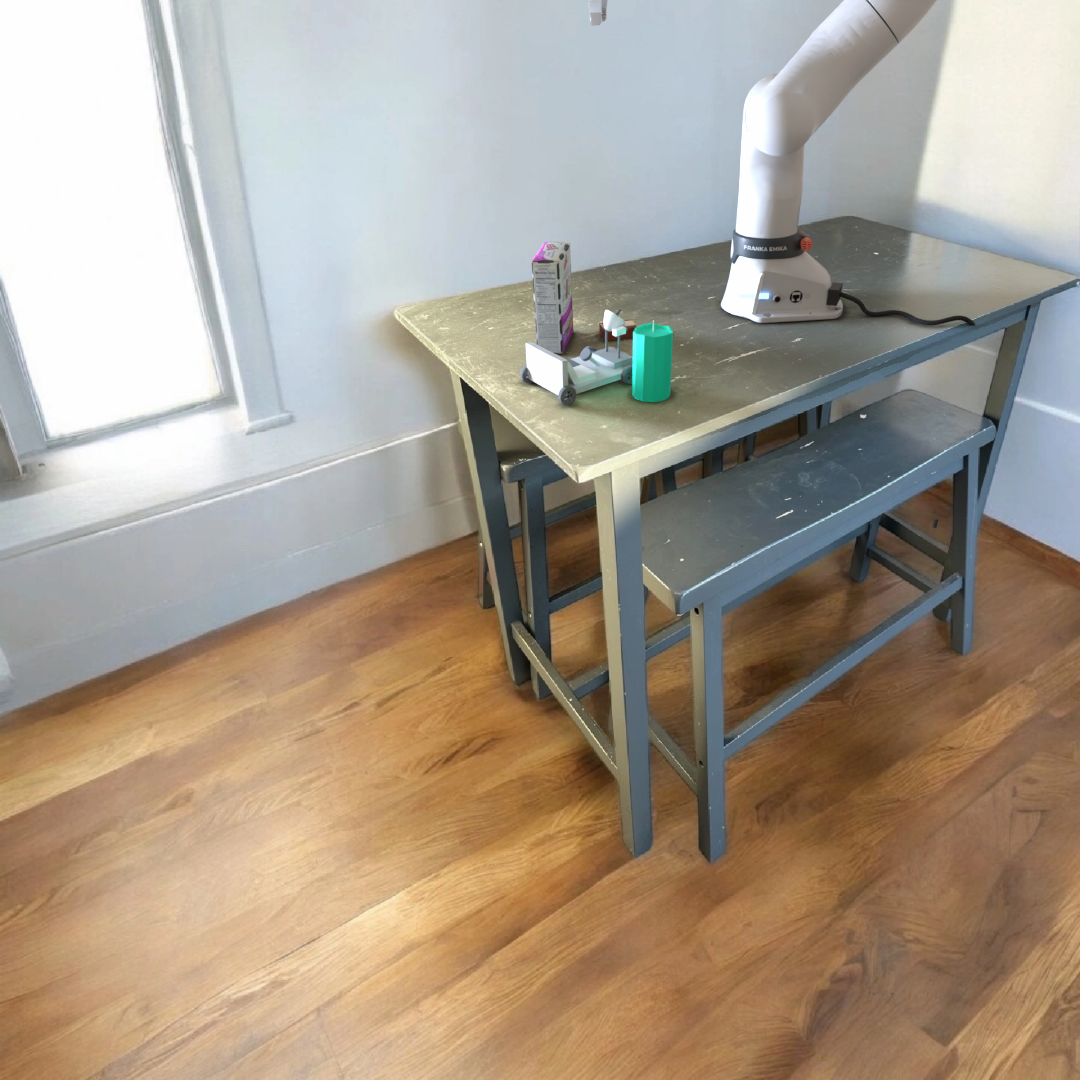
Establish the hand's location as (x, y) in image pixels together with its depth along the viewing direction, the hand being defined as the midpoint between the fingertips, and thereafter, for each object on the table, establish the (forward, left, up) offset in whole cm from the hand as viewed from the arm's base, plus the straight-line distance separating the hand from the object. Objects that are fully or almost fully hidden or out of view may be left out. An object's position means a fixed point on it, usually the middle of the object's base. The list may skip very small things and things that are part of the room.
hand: (598, 23), depth 142 cm
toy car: (-1, +36, -48) cm, 60 cm away
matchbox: (-5, +16, -48) cm, 51 cm away
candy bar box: (+6, +20, -48) cm, 52 cm away
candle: (-12, +41, -48) cm, 64 cm away
